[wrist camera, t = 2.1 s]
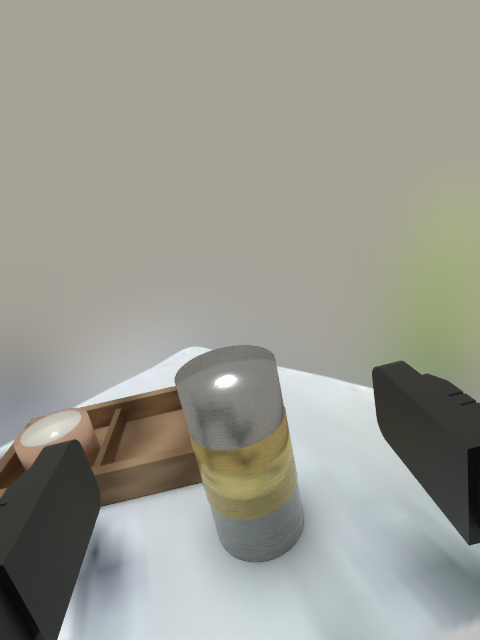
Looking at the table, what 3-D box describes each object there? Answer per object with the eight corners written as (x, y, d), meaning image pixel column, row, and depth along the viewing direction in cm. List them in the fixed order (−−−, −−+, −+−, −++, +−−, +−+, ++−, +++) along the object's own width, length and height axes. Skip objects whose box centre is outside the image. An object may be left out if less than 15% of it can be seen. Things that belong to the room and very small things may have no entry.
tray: (-19, 534, 29) (-35, 505, 28) (42, 441, 41) (31, 418, 40) (226, 476, 30) (219, 446, 29) (219, 400, 42) (213, 377, 41)
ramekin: (17, 496, 32) (-2, 458, 31) (46, 449, 38) (31, 415, 37) (91, 479, 32) (75, 440, 31) (108, 435, 38) (95, 401, 37)
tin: (219, 573, 23) (170, 406, 19) (215, 497, 28) (176, 357, 24) (316, 549, 23) (286, 379, 19) (292, 478, 29) (266, 337, 25)
